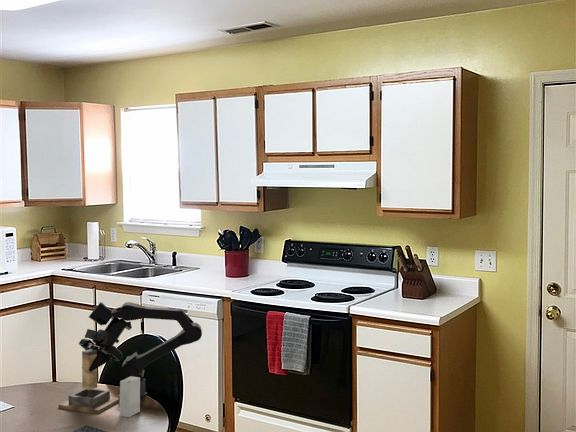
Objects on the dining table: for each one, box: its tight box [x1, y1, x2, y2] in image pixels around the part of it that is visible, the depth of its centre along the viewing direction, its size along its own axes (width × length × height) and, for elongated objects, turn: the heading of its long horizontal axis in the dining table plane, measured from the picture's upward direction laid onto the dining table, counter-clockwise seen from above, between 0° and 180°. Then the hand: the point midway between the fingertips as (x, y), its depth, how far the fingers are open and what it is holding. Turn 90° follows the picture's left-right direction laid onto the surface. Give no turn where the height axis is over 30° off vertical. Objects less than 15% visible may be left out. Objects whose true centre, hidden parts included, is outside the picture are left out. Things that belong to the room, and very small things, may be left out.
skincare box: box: [119, 376, 141, 418], centre depth 221 cm, size 6×4×12 cm
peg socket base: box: [58, 388, 120, 415], centre depth 229 cm, size 16×13×4 cm
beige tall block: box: [81, 349, 98, 390], centre depth 229 cm, size 4×4×13 cm
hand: (86, 369), depth 228 cm, fingers closed on beige tall block, 4 cm apart
